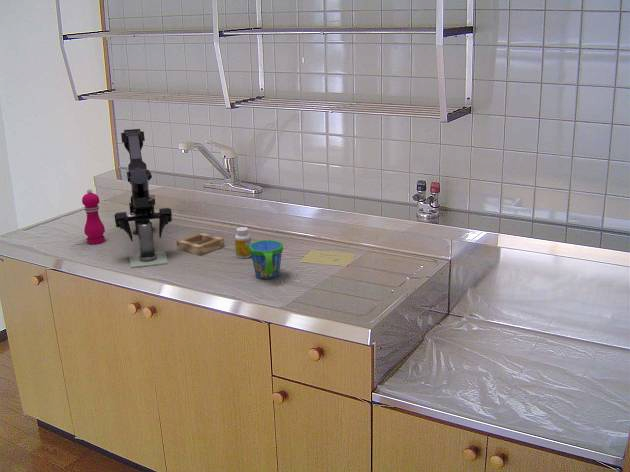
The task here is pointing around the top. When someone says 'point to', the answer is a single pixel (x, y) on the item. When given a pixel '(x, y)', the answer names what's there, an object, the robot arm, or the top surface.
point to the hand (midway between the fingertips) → (146, 239)
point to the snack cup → (266, 258)
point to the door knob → (146, 242)
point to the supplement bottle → (242, 242)
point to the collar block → (208, 244)
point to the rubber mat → (159, 261)
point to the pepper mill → (93, 219)
